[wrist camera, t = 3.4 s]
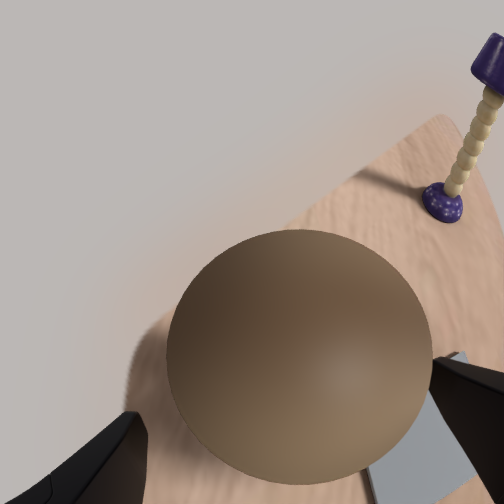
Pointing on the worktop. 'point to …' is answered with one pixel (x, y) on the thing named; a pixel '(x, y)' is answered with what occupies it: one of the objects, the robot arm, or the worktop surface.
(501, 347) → the worktop surface
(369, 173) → the worktop surface
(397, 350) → the walnut stool
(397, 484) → the grey mat
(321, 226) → the worktop surface
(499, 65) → the toy lamp
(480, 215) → the worktop surface
